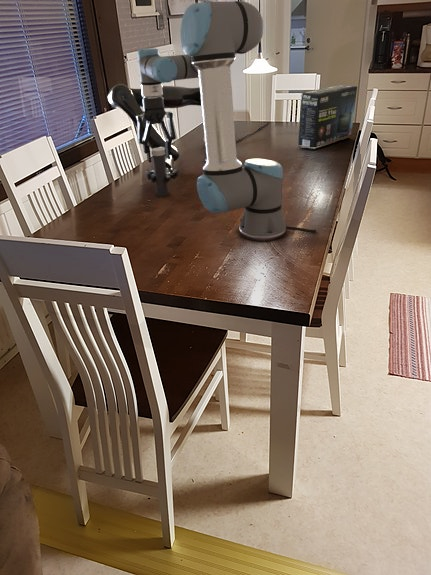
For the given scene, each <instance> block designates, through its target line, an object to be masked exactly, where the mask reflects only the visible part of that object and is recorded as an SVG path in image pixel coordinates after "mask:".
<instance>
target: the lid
mask: <svg viewBox="0 0 431 575" xmlns="http://www.w3.org/2000/svg"><path fill="white" fill-rule="evenodd" d="M164 149H165V148H163V147H159V148H153V149H151V150H150V153H151V156H152V157H153V156H162V155H164V154H165V150H164Z"/></svg>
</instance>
